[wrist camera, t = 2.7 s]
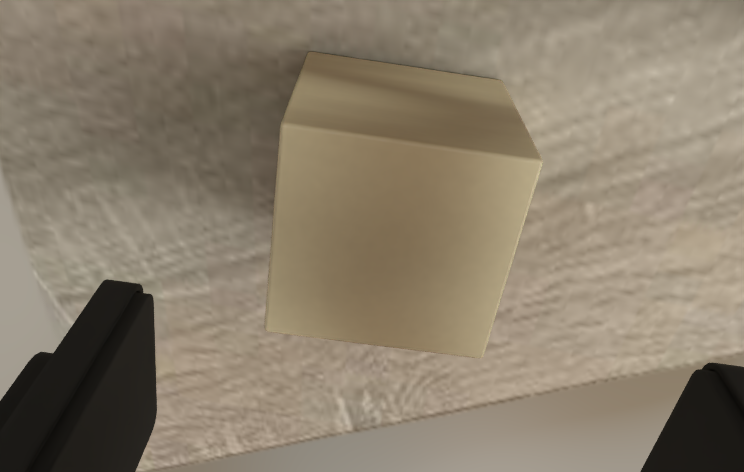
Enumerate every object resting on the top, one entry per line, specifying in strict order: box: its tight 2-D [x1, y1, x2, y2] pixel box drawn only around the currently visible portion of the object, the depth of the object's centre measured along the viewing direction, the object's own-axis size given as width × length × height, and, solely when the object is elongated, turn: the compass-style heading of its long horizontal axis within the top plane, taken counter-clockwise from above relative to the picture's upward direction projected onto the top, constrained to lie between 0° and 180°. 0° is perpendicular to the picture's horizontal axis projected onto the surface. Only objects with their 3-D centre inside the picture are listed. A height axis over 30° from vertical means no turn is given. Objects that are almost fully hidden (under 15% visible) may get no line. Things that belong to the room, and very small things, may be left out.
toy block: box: [264, 52, 543, 358], centre depth 17 cm, size 6×6×6 cm
